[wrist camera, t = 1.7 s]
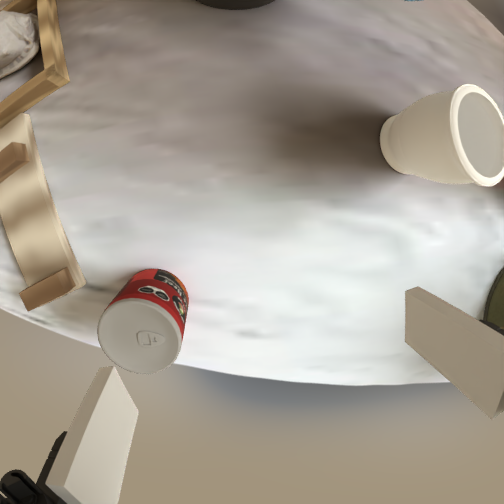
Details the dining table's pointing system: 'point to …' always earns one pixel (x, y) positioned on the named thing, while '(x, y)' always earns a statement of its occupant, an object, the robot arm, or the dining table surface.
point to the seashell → (17, 40)
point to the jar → (448, 138)
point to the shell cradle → (52, 60)
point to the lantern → (496, 302)
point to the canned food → (145, 322)
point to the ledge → (33, 219)
